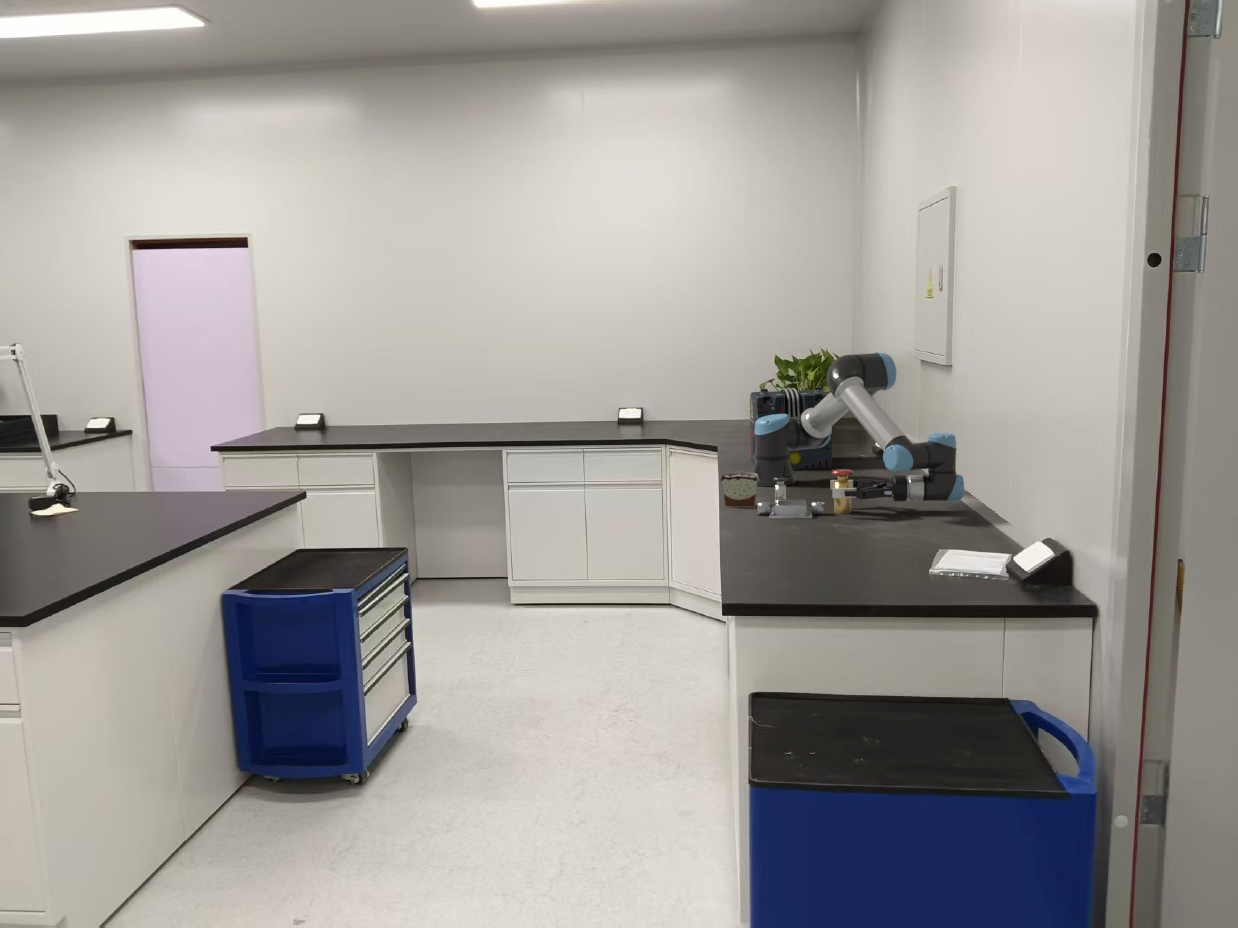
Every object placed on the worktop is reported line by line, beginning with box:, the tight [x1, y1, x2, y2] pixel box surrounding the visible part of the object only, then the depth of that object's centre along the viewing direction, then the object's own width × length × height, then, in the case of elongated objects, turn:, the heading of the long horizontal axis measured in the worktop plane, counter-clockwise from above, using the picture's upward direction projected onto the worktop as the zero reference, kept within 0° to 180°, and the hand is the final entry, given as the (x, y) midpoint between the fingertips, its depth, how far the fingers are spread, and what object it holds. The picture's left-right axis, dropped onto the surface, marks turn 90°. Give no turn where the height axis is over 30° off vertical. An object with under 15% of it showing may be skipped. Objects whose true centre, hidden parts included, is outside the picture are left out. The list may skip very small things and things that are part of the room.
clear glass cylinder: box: [774, 477, 787, 501], centre depth 297 cm, size 4×4×9 cm
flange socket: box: [756, 499, 825, 520], centre depth 284 cm, size 12×19×4 cm, turn 80°
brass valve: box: [831, 468, 854, 515], centre depth 284 cm, size 6×6×12 cm
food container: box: [719, 471, 760, 508], centre depth 300 cm, size 12×6×10 cm, turn 74°
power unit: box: [749, 386, 833, 471], centre depth 375 cm, size 28×28×30 cm
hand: (831, 488), depth 284 cm, fingers open, 13 cm apart
